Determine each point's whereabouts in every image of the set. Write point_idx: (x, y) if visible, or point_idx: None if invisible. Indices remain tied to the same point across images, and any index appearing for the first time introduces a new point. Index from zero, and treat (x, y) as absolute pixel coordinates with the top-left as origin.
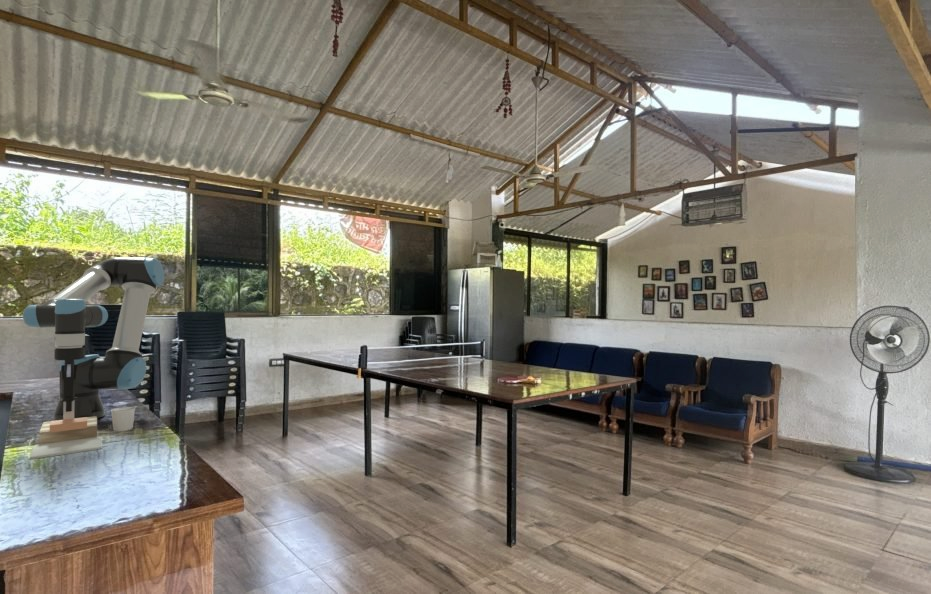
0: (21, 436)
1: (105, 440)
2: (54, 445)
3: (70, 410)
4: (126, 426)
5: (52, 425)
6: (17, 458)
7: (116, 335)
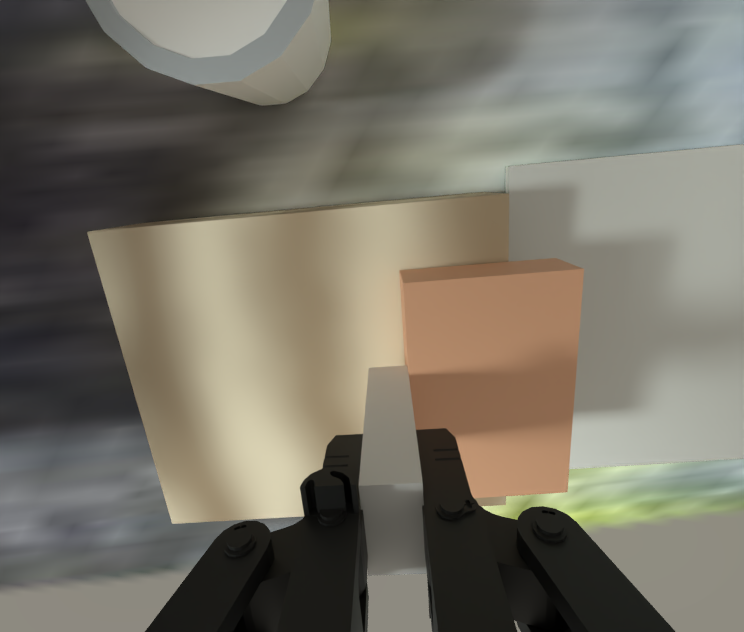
0: (208, 543)
1: (589, 132)
2: (583, 390)
3: (453, 441)
4: None
5: (567, 475)
6: (691, 494)
7: None
